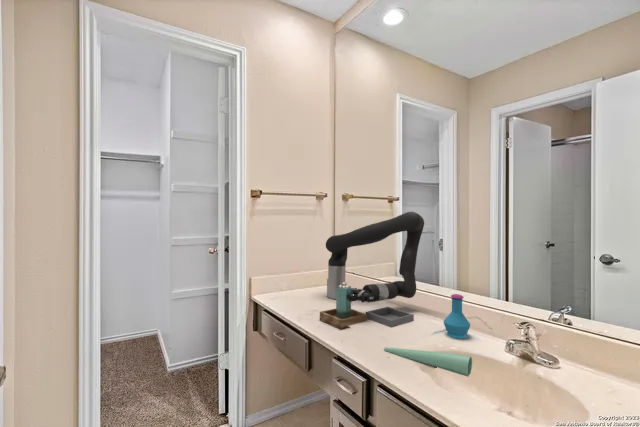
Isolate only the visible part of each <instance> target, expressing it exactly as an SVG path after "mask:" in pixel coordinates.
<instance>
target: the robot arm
mask: <svg viewBox="0 0 640 427" xmlns="http://www.w3.org/2000/svg"><path fill="white" fill-rule="evenodd" d="M424 228H425V219H424V218H423V216H421V215H420V214H419V213H417V212H415V211H407V212H404V213H402V214H400V215H397V216H395V217H393V218H390V219H386V220H382V221H378V222H374V223H371V224H369V225H365V226H362V227H359V228H357V229H354V230H352V231H350V232H349V231H348V232H347V233H342V234H335V235H331V236H329V237H328V238H327V240H326V242H325V248H326V249H327V251H328V252H330V253H331V255H330V258H329V259H328V265H327V266H328V270H327V272H328V273H327V278H326V297H327V298H329V299H330V300H336V287H337V286H339V285H341V283H342V282H346V269H347V268H346V267H347V266H346V262H347V260H348V248H352V247H358V246H359V247H360V246H366V245H371V244H375V243H378V242H380V241H383V240H385V239H387V238H388V237H389V236H392V235H394V234H397V233H402V232H406V241H405V244H404V248H403V250H402V254H401V256H400V262H399V270H398V273H399V275H400V276H402V277H403V280H396V281H391V282H387V283H371V284H365V285H364V286H363V287H362V288H357V287H351V296H349V301H350V302H351V303H352V302H361V303H375V302H376V303H377V302H382V301H386V300H393V299H395V298H396V297H403V298H405V299H412V298H413V297H415V295H416V292H417V283H416V282H417V281H416V280H417V279H416V275H415V274H416V266H417V258H418V257H417V256H418V251H419V250H418V249H419V246H420V241H421V236H422V234H423V230H424Z"/></svg>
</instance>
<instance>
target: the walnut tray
mask: <svg viewBox="0 0 640 427" xmlns="http://www.w3.org/2000/svg"><path fill="white" fill-rule="evenodd" d="M319 321H321V322H323V323H324V324H325V323H326V324H328V325H330V326H332V327H334V328H337V329H339V330H341V331H342V330H345V329H349V328H350V329H351V326H352V325H355V324H359V323H363V322H367V321H368V319H367V314H366V313H365V312H361V311H358V310H356V309H353V308H351V318H346V319H339V318H337V317H336V308H331V309H327V310H322V311H319Z"/></svg>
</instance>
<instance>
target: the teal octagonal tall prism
mask: <svg viewBox="0 0 640 427" xmlns="http://www.w3.org/2000/svg"><path fill="white" fill-rule="evenodd" d="M351 288H352V286H351V285H349V284H348V283H347V282H346V281H345V282H342V283H341V285H339V286H337V287H336V299H335V301H336V302H335V304H336V305H335V309H336V317H337V318H339V319H346V318H351V309H352V301H351V302H350V301H349V296H351Z"/></svg>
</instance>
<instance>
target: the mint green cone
mask: <svg viewBox="0 0 640 427" xmlns="http://www.w3.org/2000/svg"><path fill="white" fill-rule="evenodd" d="M383 351H384V352H388V353H390V354H393V355H396V356H399V357H402V358H406V359H409V360H413V361H416V362H419V363H420V364H421V363H422V364H425V365H429V366H430V367H431V366H433V367H435V368H438V369H441V370H445V371H447V372H448V371H449V372H451V373H455V374H458V375H461V376H464V377H469V376H470V375H471V374H472V369H473V367H472V366H473V357H472V355H466V354H460V353H452V352H441V351H430V350H421V349H410V348H400V347H399V348H398V347H387V346H386V347H384V348H383Z"/></svg>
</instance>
